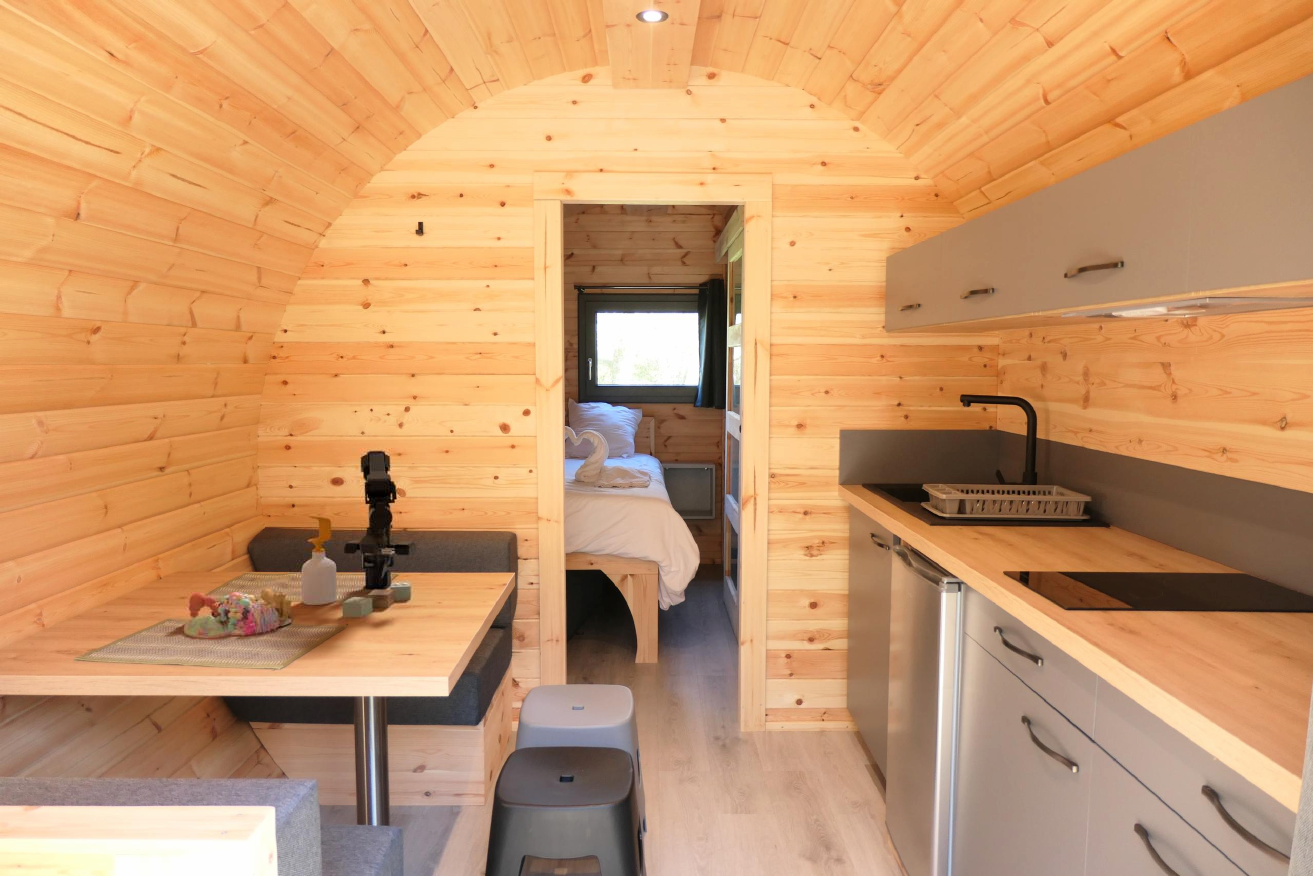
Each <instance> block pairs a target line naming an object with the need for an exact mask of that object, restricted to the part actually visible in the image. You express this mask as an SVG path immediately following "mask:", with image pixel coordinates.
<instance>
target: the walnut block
mask: <svg viewBox="0 0 1313 876" xmlns="http://www.w3.org/2000/svg"><path fill="white" fill-rule="evenodd" d="M367 598H372V609H386V610H387V609H389V608H390V607H392V606H393V605H394V604H395V600H394V590H390V589H373V590H371V592H369V593H368V594H367Z"/></svg>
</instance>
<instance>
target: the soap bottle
mask: <svg viewBox="0 0 1313 876" xmlns="http://www.w3.org/2000/svg"><path fill="white" fill-rule="evenodd" d="M308 518H309V519H310V518H311V519H313V520H314V519H315V520H317V521H318V533H319V534H318V537H316V538H310V539H308V540H307V542H308V543H312V544H313V546H314V545H315V548H314V549H312V552H311V553H312V555H311V558H310V559H308V560H307V561H306V562H304V563H303V565H302V568H301V598H302V599H301V600H302V603H303V604H304V605H308V606H323V605H328V604H331V603H334V602H336V600H337V598H338V597H337V596H338V593H337V589H338V588H337V566H336V565H337V564H336V563H335V562H334V561H333V560H332V559H330V558H328V557H326V549H325V548H323V547H322V545H324V544H325V543H324V542H327V541H330V540H331V538H332V521H331V519H329V518H326V517H321V516H313V515H312V516H311V515H309V516H308Z"/></svg>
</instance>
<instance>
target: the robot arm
mask: <svg viewBox="0 0 1313 876" xmlns="http://www.w3.org/2000/svg"><path fill="white" fill-rule="evenodd" d="M390 471H391V456H390V455H388V454H386V452H385V450H384V451H383V450H369V451H366V454H365V455H362V456H360V473H362V475H363V476H362V478H363V480H364V502H365V503H364V505H368V526H367V527H366V533H365V535H364V536H363V537H362V538H361V539H352V540H350V541H347V542H345V544H344V545H343V553H344V554H349V555H350V554H353V555H354V554H355V553H357V551H360V554H361V555H362V558H361V559H362V561H361V562H362V569H363V570H365V572H364V574H365V575H364V577H365V582H364V583H365V585H364V586H362V588H363V589H365V590H366V589H367V590H368V589H373V590H385V589H386V588H388V587H390V586H391V583H392V571H391V570H390V568H392V567H394V566H395V555H397V556H410V555H412V554H413V553H415V552H417V543H415V541H411V540H409V541H407V540H405V541H404V540H402V541H400V542H397V543H396V544H395V543H393V542H394V540H393V538H392V529H393V524H392V522H393V513H392V511H391V510H392V509H391V505H390V504H395V501H396V500H397V499H398V497H397V486H396V485H397V484H395V482H394V480H392V477H391V475H390V474H389V473H388V472H390Z"/></svg>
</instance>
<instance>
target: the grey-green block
mask: <svg viewBox="0 0 1313 876" xmlns="http://www.w3.org/2000/svg"><path fill="white" fill-rule="evenodd" d="M341 603H342V617H346V618H361V619H362V618H365V616H367V615H369V614H372V613H373V608H372V598H368V597H360V596H359V597H358V596H353V597H351V598H348V599H346V600H344V601H342V602H341Z"/></svg>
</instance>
